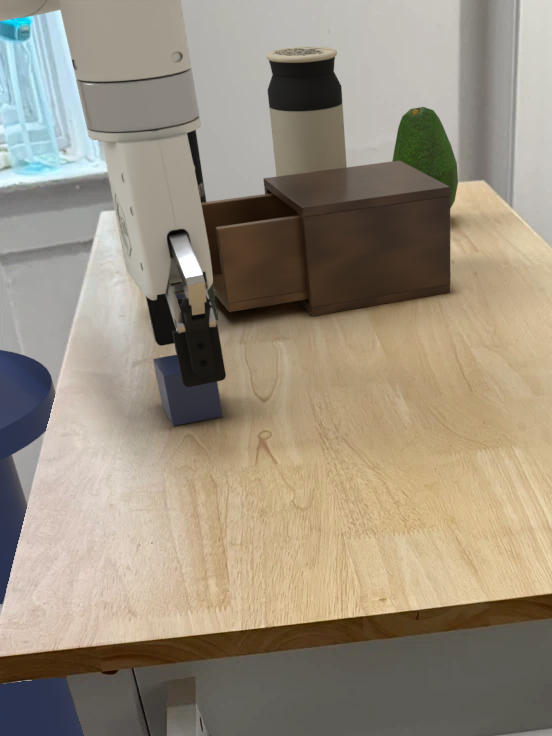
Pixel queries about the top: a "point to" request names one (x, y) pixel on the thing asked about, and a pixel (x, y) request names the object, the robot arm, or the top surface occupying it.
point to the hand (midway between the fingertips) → (189, 361)
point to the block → (185, 394)
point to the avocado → (427, 147)
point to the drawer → (255, 252)
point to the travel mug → (306, 110)
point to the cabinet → (369, 234)
